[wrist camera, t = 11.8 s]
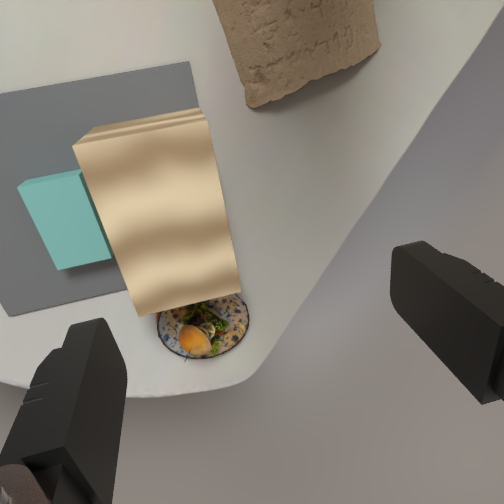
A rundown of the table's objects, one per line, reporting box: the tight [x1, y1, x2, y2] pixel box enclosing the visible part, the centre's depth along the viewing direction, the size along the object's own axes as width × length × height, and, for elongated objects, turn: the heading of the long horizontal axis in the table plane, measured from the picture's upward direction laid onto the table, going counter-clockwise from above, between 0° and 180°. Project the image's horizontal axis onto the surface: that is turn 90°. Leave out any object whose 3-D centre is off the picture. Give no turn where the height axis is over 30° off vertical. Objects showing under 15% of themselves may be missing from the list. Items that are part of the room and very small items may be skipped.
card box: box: [17, 169, 113, 270], centre depth 36 cm, size 9×6×2 cm, turn 8°
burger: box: [156, 293, 249, 363], centre depth 44 cm, size 12×12×8 cm
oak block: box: [72, 107, 242, 317], centre depth 34 cm, size 16×10×9 cm, turn 8°
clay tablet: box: [213, 0, 381, 108], centre depth 33 cm, size 16×11×3 cm
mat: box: [0, 61, 199, 316], centre depth 37 cm, size 22×26×1 cm
